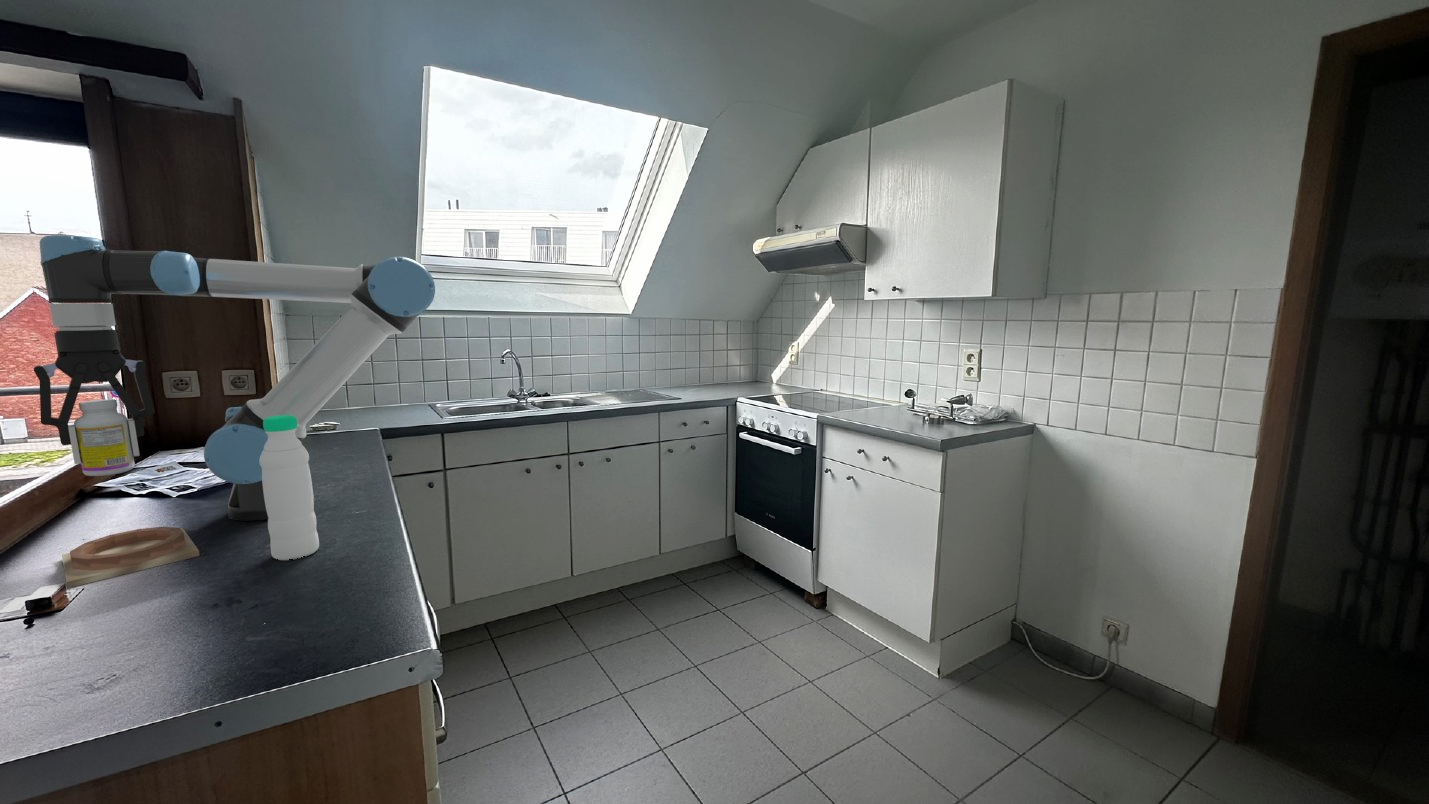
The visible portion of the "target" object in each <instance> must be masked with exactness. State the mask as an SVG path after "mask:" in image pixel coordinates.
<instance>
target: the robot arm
mask: <svg viewBox="0 0 1429 804" xmlns="http://www.w3.org/2000/svg"><path fill="white" fill-rule="evenodd" d="M39 251H40V262H39V263H40V266H41V267H42V273H43V278H44V282H45V283H44V284H45V287H46V288H45V289H46V293H47V298H48V299H47V300H48V306H49V312H50V318H51V323H52V326H53V327H54V328H58V330H55V332H54V340H55V347H56V352H57V358H56V360H55V361H54V362H52V363H48V364H44V365H40V364H39V365H35V366H34V367H33V372H34V373H35V376H36V377H37V379H38V381H39V402H40V403H39V409H40V410H39V411H40V412H39V413H40V424H41V425H44V426H53V427H55V428H57V429H58V435H59V442H60V444H61V445H62V446H70V447H71V451H72V457H73V462H74V465H78V464H80V465H81V460H80V455H79V449H78V443H77V438H76V432H75V426H74V424H69V422H70V419H71V417H72V416H71V415H72V414H73V413H72V412H73V410H74V407H75V404H76V401H77V398H78V395H79V391H80V389H81V387H82V384H90V383H94V382H95V383H96V382H97V383H109V385H110V386H111V388H112V389H113V391H114V392H115V394H116V395H117V396H118V398H119V400H120V401H121V402H122V404H123V406H125V408H126V410H127V411H128V412H129V414H130V415H131V418H127V420H128V426H129V432H130V438H131V445H132V450H133V456H134V457H139V456H140V450H139V449H140V448H139V443H138V437H144V436H145V433H146V432H145V427H144V418H145V417H148V416H150V415H154V414H155V412H156V410H155V407H154V403H153V399H152V396H151V393H150V389H149V386H148V382H147V380H146V379H147V378H146V375H145V372H146V368H147V367H146V365H147V363H146V362H144V361H143V360H132V359H126V358H125V357H124V356H123V355H122V353H121V349H120V342H119V337H118V336H119V335H118V331H116V330H115V329H113V328H112V327H115V326H116V324H117V323H116V317H115V311H114V310H115V309H114V305H113V304H114V303H113V299H112V294H113V295H114V294H115V295H127V294H128V295H160V296H161V295H163V296H178V297H204V298H205V297H208V298H209V297H210V298H211V297H212V298H213V297H214V298H215V297H216V298H235V299H257V300H259V299H260V300H280V301H298V302H299V301H301V302H320V303H321V302H324V303H341V304H342V303H343V304H344V303H345V304H351V305H350V307H349V308H348V309H347V310H346V311H345V312H344V313H343V314H342V315H341V317H340V318H339V319H338V320H337V321H336V322H335V323H334V324H333V325H332V326H331V327H329V329H328V330H327V331H326V332H325V333H324V334H323V335H322V336H321V337H320V338H319V339H318V340H317V342H315V344H313V346H312V347H311V348H310V349H309V350H308V351H307V352H306V353H305V354H304V355H303V356H302V357H301V358H299V360H298V362H296V363H295V365H293V366H292V367H291V369H289V371H288V372H287V373H286V374H285V375H284V376H282V378H281V379H280V380H279V381H278V382H277V383H276V384H275V385H274V386H273V387H272V388H271V389H270V390H269V391H268V392H267V394H266V395H265V396H264V397H262V398H257V399H256V398H255V399H249V400H247V401H246V403H244V404H243V405H242V406H238V407H237V406H236V407H235V406H234V407H228V408H227V409H226V411H225V417H224V420H225V424H224V425H222V427H219V428H218V429H216V430H215V431H214V432H213V433H211V434H210V436H209V437H208V438H207V441H206V444H205V446H204V448H203V458H204V463H205V464H206V467H207V468H208V470H209V471H210V472H211V473H212V474H213V475H214V476H216V477H217V478H218V479H221V480H222V481H225V482H227V483H231V484H233V485H232V488H231V492H230V495H229V499H228V503H227V515H228V518H229V519H231V520H234V521H241V522H242V521H243V522H245V521H251V522H252V521H263V520H268V519H269V518H268V515H267V511H266V506H265V500H264V493H263V484H262V467H261V466H260V463H259V459H260V455H261V453H262V451H263V450H264V445H265V443H266V442H267V440H268V435H267V434H266V433H265V432H266V431H265V430H264V428H263V420H264V419H265V418H267V417H271V416H278V415H292V416H295V417H296V420H297V428H296V429H297V430H296V431H295V436H296V437H297V438H298V439H299V440H300V441H301V442H302V441H303V440H304V439H305V438H306V437H307V430H306V425H307V424H308V422H310V420H311V419H312V418H313V417H314V416H315V415H316V414H317V413H318V412H319V411H320V410H321V409H322V408H323V407H324V405H325V404H326V403H327V402H328V401H329V400H330V399H331V398H332V397H333V396H334V395H335V393H336V392H338V390H339V389H340V388H341V387H342V386H343V385H344V384H345V383H346V382H348V380H349V379H350V378H351V377H352V375H353V374H354V373H356V372H357V370H358V369H359V368H360V367H361V366H362V365H363V364H364V363H365V362H366V361H367V359H368V358H369V357H370V356H371V355H372V354H373V353H374V352H375V351H376V350H377V349H378V348H379V347H380V346H381V345H382V343H384V341H385V340H386V339H387V338H388V337H389V336H391V335H400V334H403V332H405V330H407V328H408V327H409V326H410V325H412V323H414V321H415V320H416V319H417V318H418V316H420V314H422V313H423V312H425V311H426V310H427V309H428V308H429V307H430V306H431V304H432V303H433V301H434V298H435V294H436V285H435V281H434V278H433V276H432V274H431V272H430V271H429V270H428V269H427V268H426V267H425V266H424V265H423V264H421V263H419V262H418V261H417V260H414V259H412V258H409V257H405V256H391V257H388V258H385V259H383V260H381V261H379V262H378V263H376V264H366V263H365V264H364V263H361V264H360V265H358V266H357V267H355V268H352V267H344V266H342V267H340V266H326V265H325V266H324V265H311V264H309V265H308V264H298V263H297V264H296V263H281V262H278V263H277V262H263V261H250V260H249V261H247V260H237V259H236V260H233V259H222V258H221V259H219V258H203V257H194V256H192V255H191V254H189V253H186V252H179V251H178V252H177V251H169V250H160V251H158V250H154V251H153V250H115V249H106V247H105V246H104V242H103V241H102V240H101V239H99V238H97V237H91V236H77V235H62V234H61V235H60V234H59V235H58V234H57V235H56V234H52V235H51V234H50V235H46V236H43V237H42V238H40V240H39ZM124 366H127V367H128V370H129V372H130V373H133V376H134V381H135V383H136V386H137V390H138V394H139V396H140V399H141V400H140V401H141V403H142V406H143V409H138V407H137V405H136V403H134V401H133V399H132V398H131V397H130V395H129V394H128V393H127V391H126V390H125V388H124V387H123V385H122V384H121V382H120V381H119V380H118V378H117V375H118V373H120V371H121V370H122V369H123V367H124ZM56 370H59V371H61V372H62V373H63V374H65V375H66V376H67V377H69V378H70V382H69V386H68V388H67V391H66V394H65V396H64V397H65V398H64V401H63V403H62V407H61V410H60V412H59V415H58V417H54V416H53V417H52V391H51V390H52V389H51V388H52V384H51V379H50V378H53V377H54V376H55V372H56ZM313 499H314V504H315V494H314V492H313Z"/></svg>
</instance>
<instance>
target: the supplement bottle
mask: <svg viewBox="0 0 1429 804" xmlns="http://www.w3.org/2000/svg"><path fill="white" fill-rule="evenodd" d="M78 409H79V410H80V412H81V416H79V417H77V418H76V419H75V420H74V423H73V425H74V426H75V432H76V438H77V443H78V449H79V455H80V460H81V464H80V465H81V466H80V467H81V470H82V473H83V475H84V476H87V477H101V476H111V475H116V474H122V473H125V472H129V471H130V470H132V469H134V468H135V466H136V463H135V458H134V457H135V456H133V450H132V445H131V438H130V432H129V426H128V420H127V419H128V418H127V416H126V415H125V414H122V413H120V412H118V411H117V409H118V402H117V399H111V398H110V399H96V400H95V399H94V400H87V401H85V400H84V401H81V402H78Z"/></svg>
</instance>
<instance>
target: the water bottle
mask: <svg viewBox="0 0 1429 804" xmlns="http://www.w3.org/2000/svg"><path fill="white" fill-rule="evenodd" d="M263 428H264V430H265V431H266V432H265V433H266V434H267V435H268V440H267V442H266V443H265V445H264V450H263V451H262V453H261V455H260V459H259V463H260V466H261V467H262V484H263V493H264V500H265V506H266V511H267V515H268V518H269V519H267V529H268V530H267V531H268V534H269V537H270V542H269V544H270V553H271V556H272V558H273V559H276V560H277V559H278V560H279V561H290V560H289V559H293V560H298V559H301V557H302V558H304V557H303V556H305V557H308V556H310V555H312V554H314V553H315V552H316V551H317V550H318V549H319V547H320V539H319V534H318V531H317V516H316V513H315V511H314V510H315V509H314V508H315V506H314V504H315V503H314V501H315V498H314V499H313V493H314V489H313V488H314V487H313V482H312V481H313V480H312V474H311V470H310V464H309V460H310V454H309V452H308V450H307V449H306V448H305V446H304V445H303V444H302V441H300V440H299V439H298V438H297V437H296V436H295V431H296V430H297V429H296V428H297V420H296V417H295V416H292V415H278V416H271V417H267V418H265V419H264V420H263ZM297 558H298V559H297Z"/></svg>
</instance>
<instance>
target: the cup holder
mask: <svg viewBox="0 0 1429 804" xmlns="http://www.w3.org/2000/svg"><path fill="white" fill-rule="evenodd" d="M61 556H62V557H61V558H62V562H63V570H64V574H65V580H66V581H65V582H66V585H67V586H68V587H70V588H74V587H77V586H81V585H86V584H89V583H93V582H98V581H102V580H106V579H110V578H114V577H117V576H122V575H126V574H131V573H134V572H138V571H143V570H147V569H151V568H156V567H158V566H163V565H167V564H168V565H169V564H171V563H175V562H180V561H183V560H184V561H185V560H188V559H192V558H195V557H196V558H197V557H200V550H199V549H198V547H197V546H196V545H195V543H194V542H193V540H192V539H191V538H190V536H189V535H188V534H187V532H186V531H185V529H184V528H181V527H175V526H174V527H173V526H155V527H145V528H138V529H132V530H128V531H123V532H117V533H113V534H109V535H106V536H103V537H99V538H96V539H92V540H90V541H87V542H84V543H82V544H80V545H79V546H77V547H75V548H73V549H71V550H70V551H69V552H68V553H64V554H61ZM67 586H66V587H67ZM68 587H67V588H68Z"/></svg>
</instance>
